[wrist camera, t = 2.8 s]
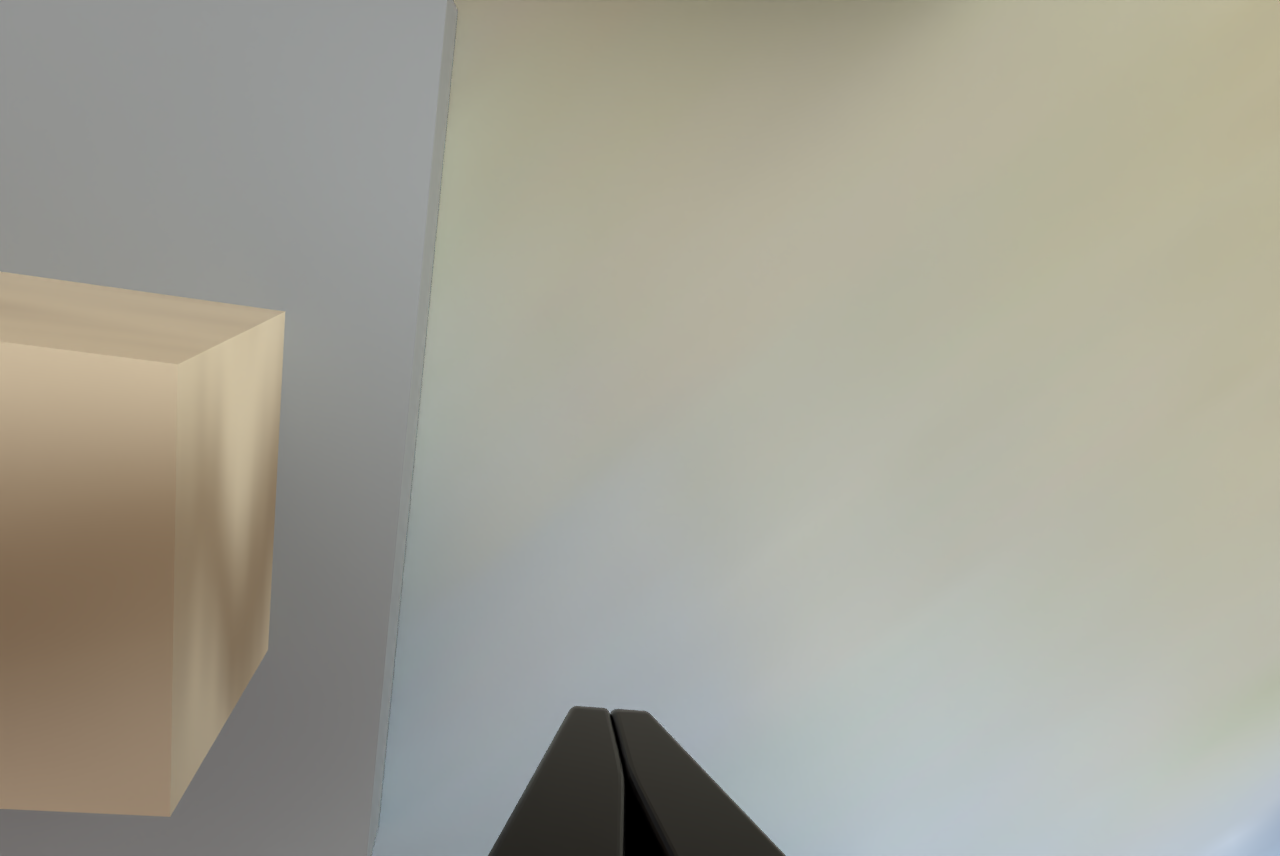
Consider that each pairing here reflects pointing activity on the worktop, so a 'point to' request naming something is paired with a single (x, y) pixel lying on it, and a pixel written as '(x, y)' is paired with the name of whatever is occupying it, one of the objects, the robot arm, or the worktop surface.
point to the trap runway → (313, 338)
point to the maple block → (129, 536)
